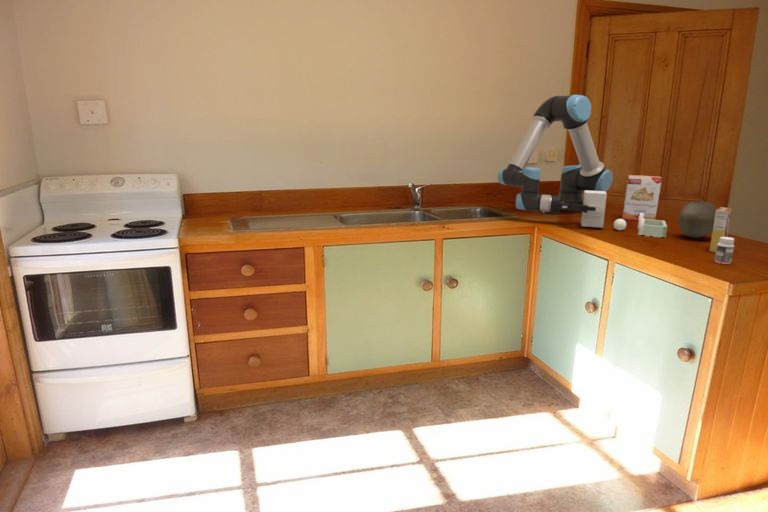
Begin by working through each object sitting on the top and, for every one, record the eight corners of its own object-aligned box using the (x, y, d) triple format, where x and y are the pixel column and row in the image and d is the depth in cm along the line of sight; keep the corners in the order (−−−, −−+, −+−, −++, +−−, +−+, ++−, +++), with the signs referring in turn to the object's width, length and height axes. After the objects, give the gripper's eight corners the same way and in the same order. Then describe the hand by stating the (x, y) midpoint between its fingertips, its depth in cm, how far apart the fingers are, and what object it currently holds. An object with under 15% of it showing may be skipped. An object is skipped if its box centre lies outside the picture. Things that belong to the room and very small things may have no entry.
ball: (613, 228, 221) (614, 217, 220) (625, 229, 219) (627, 218, 218) (612, 230, 217) (614, 219, 216) (625, 231, 215) (627, 220, 214)
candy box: (712, 247, 190) (719, 206, 186) (725, 248, 187) (733, 208, 183) (708, 251, 183) (715, 209, 180) (722, 253, 181) (730, 211, 177)
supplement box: (602, 224, 226) (606, 190, 222) (603, 228, 218) (607, 193, 214) (580, 222, 229) (584, 189, 225) (580, 226, 221) (584, 192, 217)
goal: (637, 228, 222) (639, 212, 220) (663, 230, 218) (665, 214, 216) (638, 235, 208) (640, 218, 206) (665, 238, 204) (668, 220, 202)
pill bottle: (710, 260, 171) (715, 236, 169) (724, 260, 172) (728, 236, 169) (720, 264, 167) (725, 239, 165) (734, 264, 167) (739, 239, 165)
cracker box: (622, 219, 242) (628, 175, 236) (622, 217, 247) (627, 174, 242) (655, 222, 237) (662, 177, 231) (654, 220, 242) (660, 176, 237)
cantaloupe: (668, 234, 211) (674, 198, 207) (702, 234, 211) (709, 199, 207) (686, 242, 197) (693, 204, 194) (723, 242, 197) (730, 204, 193)
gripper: (553, 208, 240) (604, 212, 230) (546, 215, 220) (602, 220, 211) (555, 192, 238) (606, 195, 228) (548, 198, 218) (604, 202, 209)
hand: (604, 207), depth 220 cm, fingers closed on supplement box, 9 cm apart
